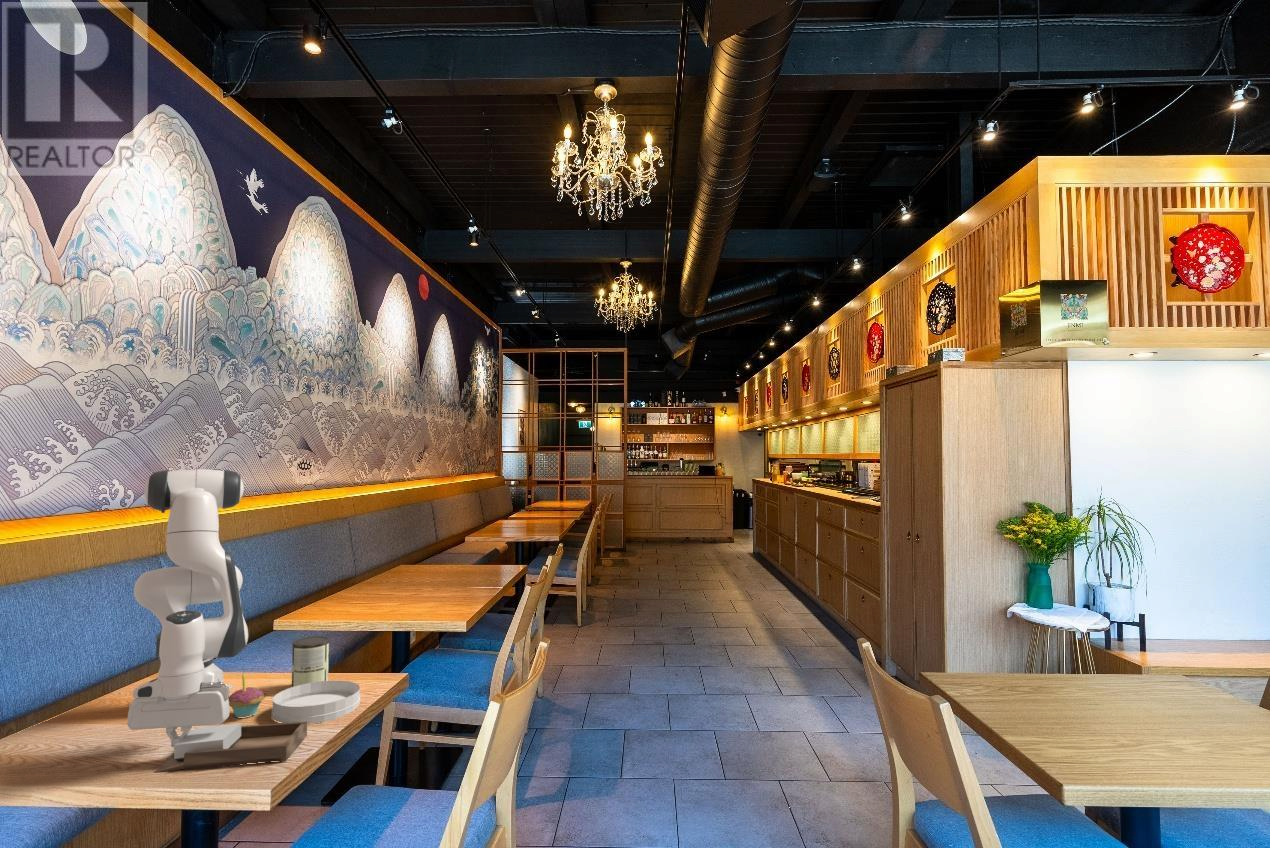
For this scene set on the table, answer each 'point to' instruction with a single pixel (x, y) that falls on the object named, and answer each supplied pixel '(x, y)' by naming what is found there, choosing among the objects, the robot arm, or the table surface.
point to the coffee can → (310, 660)
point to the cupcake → (245, 700)
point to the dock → (247, 748)
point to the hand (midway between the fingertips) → (178, 745)
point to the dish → (316, 702)
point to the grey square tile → (208, 739)
